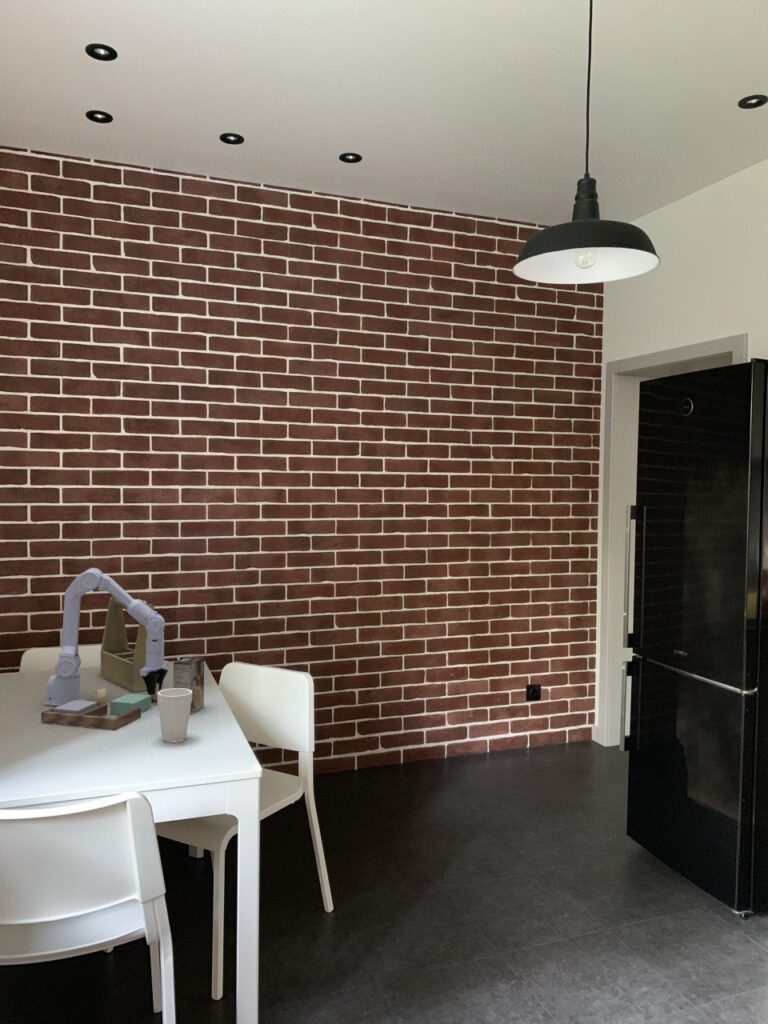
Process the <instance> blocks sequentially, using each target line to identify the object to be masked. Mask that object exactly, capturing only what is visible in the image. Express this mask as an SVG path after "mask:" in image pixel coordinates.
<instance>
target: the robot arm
mask: <svg viewBox="0 0 768 1024" xmlns="http://www.w3.org/2000/svg"><path fill="white" fill-rule="evenodd" d="M96 588H98V589H97V590H98V591H99V592H100V591H101V592H108V593H109V594H111V595H112V597H113V596H114V597H115V598H117V599H118V600H119V601H120V602H122V603H123V604H124V605H126V606H127V610H126V611H127V613H128V614H129V615H130V616H131V617H132V618H134V619H135V620H136V621H137V622H138V624H139V623H140V624H142V625H145V628H146V630H147V638H146V665H145V666H144V667H143V668H142V669H141V670H140V676H142V678H143V680H144V682H145V684H146V688H147V690H146V691H147V695H154V694H155V690H156V683H159V691H161V690H162V687H163V683H164V679H165V678H166V675H167V674H168V670H169V669H167V668H169V665H170V663H169V660H165V637H164V636H165V625H166V621H165V618H164V617H163V616H162V615H161V614H159V613H158V612H157V611H156V610H155V612H154V611H153V610H152V609H151V608H150V607H148V606H147V605H146V604H147V603H148V602H147V601H146V600H141V598H140V599H139V598H138V599H135V598H133V597H132V595H130V594H129V593H128V592H127V591H126V590H125V589H124V588H122V587H121V585H120V584H118V583H117V582H116V581H115V580H114V579H113V578H112V577H110V576H109V575H108V574H106V573H103V571H101V569H99V568H97V567H90V568H88V569H86V570H85V571H83V572H82V573H80V574H79V575H77V576H76V577H75V578H74V579H73V580H72V582H71V583H70V585H69V586H68V587H67V588H66V589H65V592H64V601H63V603H64V605H63V619H62V620H63V621H62V632H61V633H62V634H61V635H62V636H61V648H60V651H59V654H58V655H59V656H58V659H57V660H58V661H56V664H55V669H54V670H55V673H56V674H54V675H51V676H50V677H49V678H48V681H47V684H46V702H45V704H44V705H46V706H54V707H56V706H59V705H61V704H64V703H66V702H69V701H73V700H80V701H87V700H86V699H84V698H83V699H81V698H80V697H81V696H80V695H81V673H80V671H79V670H78V669H79V668H80V666H81V664H82V661H81V660H82V659H81V657H80V654H79V630H80V629H79V628H80V617H81V614H80V613H81V600H82V599H81V598H82V597H83V596H84V595H85V594H87V593H88V592H91V591H93V590H95V589H96Z"/></svg>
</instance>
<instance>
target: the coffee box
mask: <svg viewBox="0 0 768 1024" xmlns="http://www.w3.org/2000/svg"><path fill="white" fill-rule="evenodd" d="M172 679H173V680H172V681H173V684H172V685H173V686H172V688H185V689H190V690H192V701H191V708H190V714H191V715H193V714H194V713H196V712H198V711H199V710H201V709H203V708H204V705H205V704H204V703H205V698H204V697H205V696H204V695H205V657H194V656H185V657H183V658H181V659H179V660H176V661H175V662H174V661H173V678H172ZM197 710H198V711H197ZM192 713H193V714H192ZM190 714H189V715H190Z"/></svg>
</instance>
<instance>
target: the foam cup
mask: <svg viewBox="0 0 768 1024" xmlns="http://www.w3.org/2000/svg"><path fill="white" fill-rule="evenodd" d="M156 701H157V703H158V712H159V713H158V714H159V720H160V721H159V722H160V730H161V731H160V732H161V738H162V739H163V740H164V741H168V742H167V743H176V742H175V741H180V740H184V739H185V738H186V739H187V735H188V725H189V720H190V708H191V701H192V690H190V689H185V688H173V687H172V688H165V689H161V691H159V692H158V695H157V700H156ZM186 739H185V740H186ZM163 740H162V741H163ZM185 740H184V741H185ZM164 741H163V742H164ZM173 741H174V742H173ZM180 742H181V741H180Z"/></svg>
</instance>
